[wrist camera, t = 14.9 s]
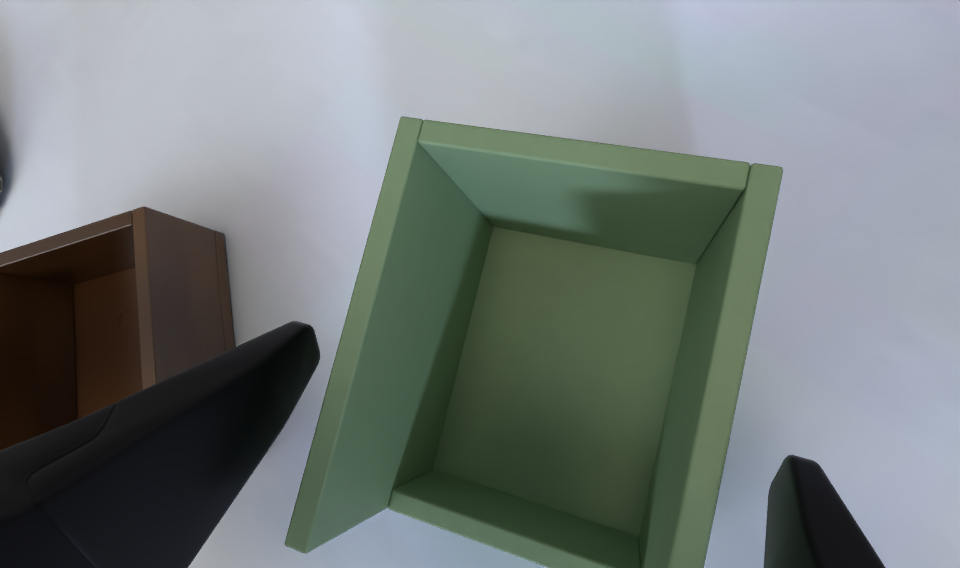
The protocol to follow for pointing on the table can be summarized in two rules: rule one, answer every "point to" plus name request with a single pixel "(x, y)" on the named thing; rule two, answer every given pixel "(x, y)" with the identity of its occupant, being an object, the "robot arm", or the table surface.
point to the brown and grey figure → (0, 186)
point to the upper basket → (543, 347)
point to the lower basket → (106, 316)
